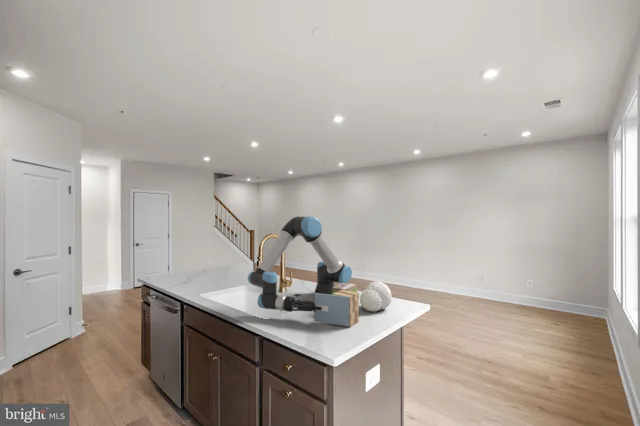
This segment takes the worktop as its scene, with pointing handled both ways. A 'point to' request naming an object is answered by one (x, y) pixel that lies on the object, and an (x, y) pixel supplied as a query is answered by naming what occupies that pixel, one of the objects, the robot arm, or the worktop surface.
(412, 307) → the worktop surface
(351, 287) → the tea box
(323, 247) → the robot arm
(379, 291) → the cauliflower
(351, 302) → the carton
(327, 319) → the flap
